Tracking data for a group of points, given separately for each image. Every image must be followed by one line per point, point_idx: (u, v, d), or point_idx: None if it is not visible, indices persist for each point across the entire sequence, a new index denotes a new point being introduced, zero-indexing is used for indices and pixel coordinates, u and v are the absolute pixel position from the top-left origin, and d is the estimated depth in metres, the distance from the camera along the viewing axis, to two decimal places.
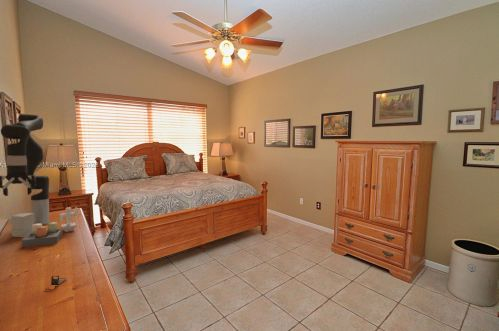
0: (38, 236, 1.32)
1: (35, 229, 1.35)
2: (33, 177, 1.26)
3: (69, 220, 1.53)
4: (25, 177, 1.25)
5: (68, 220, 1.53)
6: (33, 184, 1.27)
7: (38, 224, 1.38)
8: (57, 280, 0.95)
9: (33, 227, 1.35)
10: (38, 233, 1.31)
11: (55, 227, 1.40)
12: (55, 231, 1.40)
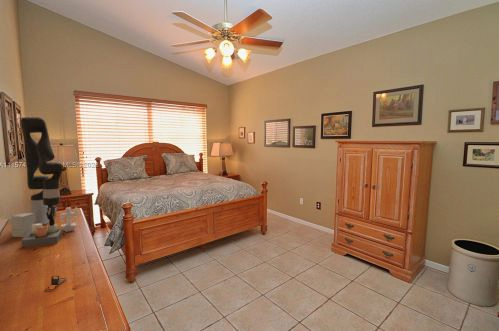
0: (38, 236, 1.32)
1: (35, 229, 1.35)
2: (56, 209, 1.45)
3: (69, 220, 1.53)
4: (55, 206, 1.43)
5: (68, 220, 1.53)
6: (55, 214, 1.43)
7: (38, 224, 1.38)
8: (57, 280, 0.95)
9: (33, 227, 1.35)
10: (38, 233, 1.31)
11: (55, 229, 1.40)
12: None
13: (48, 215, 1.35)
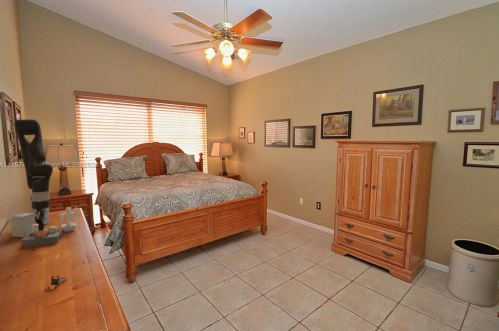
0: None
1: (35, 229, 1.35)
2: (46, 213, 1.38)
3: (69, 220, 1.53)
4: (45, 210, 1.36)
5: (68, 220, 1.53)
6: (45, 218, 1.36)
7: None
8: (57, 280, 0.95)
9: (33, 227, 1.35)
10: (38, 236, 1.32)
11: (55, 231, 1.40)
12: None
13: (37, 219, 1.28)
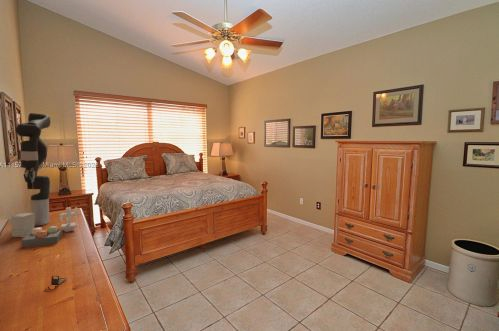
0: None
1: (35, 233, 1.35)
2: (35, 173, 1.44)
3: (69, 220, 1.53)
4: None
5: (68, 220, 1.53)
6: (34, 178, 1.42)
7: (38, 228, 1.38)
8: (57, 280, 0.95)
9: (33, 231, 1.35)
10: (38, 237, 1.32)
11: (55, 231, 1.40)
12: None
13: (25, 177, 1.34)
